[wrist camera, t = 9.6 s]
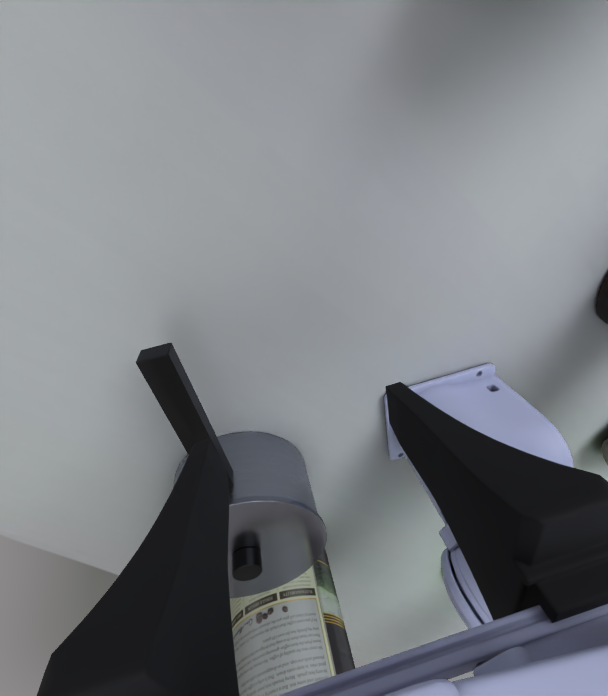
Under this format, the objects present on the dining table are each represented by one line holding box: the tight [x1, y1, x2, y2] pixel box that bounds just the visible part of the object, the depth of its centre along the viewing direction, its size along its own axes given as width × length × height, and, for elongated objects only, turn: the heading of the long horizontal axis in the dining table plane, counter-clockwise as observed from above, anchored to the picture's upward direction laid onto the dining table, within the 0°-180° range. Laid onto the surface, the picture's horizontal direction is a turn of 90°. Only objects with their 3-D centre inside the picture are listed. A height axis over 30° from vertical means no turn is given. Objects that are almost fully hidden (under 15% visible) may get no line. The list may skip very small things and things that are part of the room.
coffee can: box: [230, 549, 355, 696], centre depth 30 cm, size 10×10×14 cm
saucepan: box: [136, 343, 327, 598], centre depth 23 cm, size 12×22×8 cm, turn 11°
